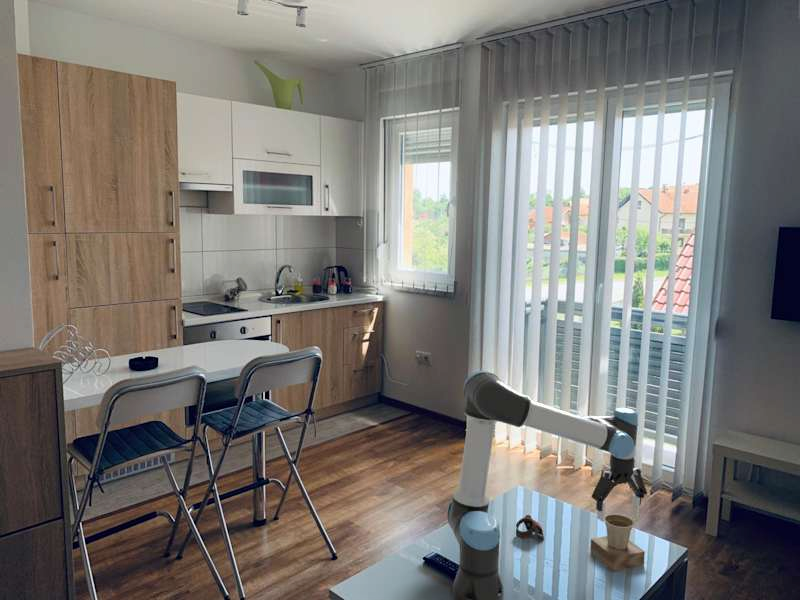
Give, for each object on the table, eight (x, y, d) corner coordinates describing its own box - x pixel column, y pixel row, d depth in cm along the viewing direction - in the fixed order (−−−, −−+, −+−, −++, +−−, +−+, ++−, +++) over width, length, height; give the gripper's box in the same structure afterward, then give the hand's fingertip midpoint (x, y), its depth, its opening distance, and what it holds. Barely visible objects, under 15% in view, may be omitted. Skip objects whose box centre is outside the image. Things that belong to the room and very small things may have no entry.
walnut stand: (613, 571, 191) (613, 557, 191) (590, 552, 203) (591, 538, 202) (643, 565, 195) (644, 551, 195) (619, 547, 206) (620, 533, 206)
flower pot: (596, 541, 201) (597, 516, 200) (617, 535, 205) (618, 511, 204) (617, 555, 192) (618, 529, 191) (638, 548, 196) (640, 524, 195)
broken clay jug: (548, 546, 208) (539, 529, 205) (523, 555, 210) (514, 538, 207) (541, 521, 219) (533, 505, 216) (517, 530, 221) (509, 514, 218)
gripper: (597, 463, 187) (593, 527, 190) (661, 456, 195) (656, 517, 198) (583, 454, 194) (579, 516, 197) (645, 448, 202) (640, 507, 205)
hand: (617, 517), depth 197 cm, fingers open, 13 cm apart
